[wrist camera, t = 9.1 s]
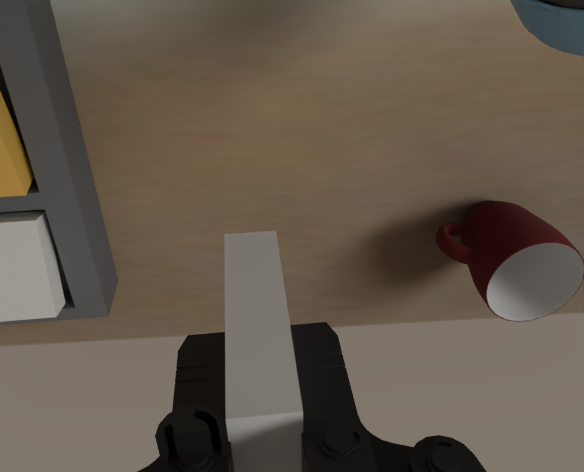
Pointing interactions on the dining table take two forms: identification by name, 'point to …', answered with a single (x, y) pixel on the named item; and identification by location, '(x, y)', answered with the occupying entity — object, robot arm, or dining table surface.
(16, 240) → the rocker grey
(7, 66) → the power strip
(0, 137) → the rocker amber
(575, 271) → the mug
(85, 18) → the dining table surface
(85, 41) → the dining table surface
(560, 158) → the dining table surface
